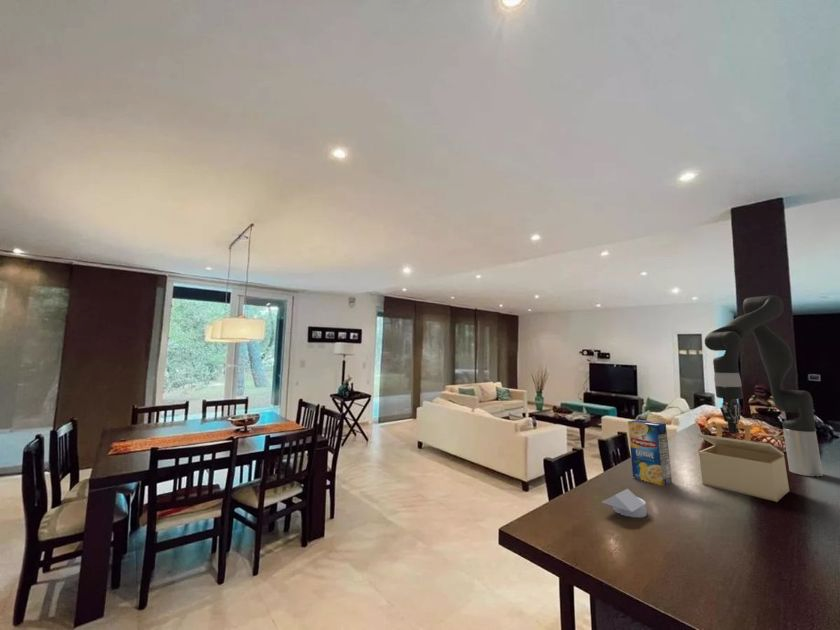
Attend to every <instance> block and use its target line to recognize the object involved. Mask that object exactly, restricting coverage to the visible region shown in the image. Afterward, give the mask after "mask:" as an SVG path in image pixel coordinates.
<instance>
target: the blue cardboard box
mask: <svg viewBox="0 0 840 630" xmlns="http://www.w3.org/2000/svg"><path fill="white" fill-rule="evenodd" d="M627 424H628V436H629V446H630V447H629V448H630V457H631V458H630V459H631V469H632V478H633V477H635V478H637V479H636V480H638V479H641V480H640V481H642V480H644V481H643V482H646V481H647V483H649V482H651V483H650V484H653V483H654V485H657V484H658V485H657V486H660V485H661V487H664V485H665V486H667V485H670V484H672V483H673V480H672V479H673V478H672V468H671V459H670V451H669V442H668V431H667V423H665V422H657V421H651V420H650V421H649V420H642V419H634V420H628V421H627ZM635 478H634V479H635Z"/></svg>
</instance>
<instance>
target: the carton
mask: <svg viewBox="0 0 840 630" xmlns="http://www.w3.org/2000/svg"><path fill="white" fill-rule="evenodd" d="M698 455H699V457H698V458H699V464H700V465H699V466H700V472H701V480H702V481H701V482H702V485H703V486H708V487H713V488H716V489H719V490H720V489H721V490H725V491H728V492H734V493H739V494H742V495H747V496H751V497H755V498H759V499H764V500H767V501H772V502H776V503H778V502H779V501H780V500H781V499H782V498H783V497H784V496H785V495H787V494H788V493H789V492H790V487H789V486H790V485H789V480H788V473H787V466H786V465H787V464H786V459H785V455H784V456H782V455H775V454H769V453H762V452H756V451H749V450H743V449H736V448H729V447H723V446H716V445H712V446H709V447H707V448H704V449H702V450H699V451H698Z"/></svg>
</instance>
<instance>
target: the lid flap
mask: <svg viewBox="0 0 840 630" xmlns="http://www.w3.org/2000/svg"><path fill="white" fill-rule="evenodd" d="M714 423H715V426H716V435H708V434H701V433H697V434H698V435H697V437H699V438H701V439H702V440H704V441H706V442H708V443H710V444H711V445H712V446H714V445H715V446H721V447H728V448H734V449H741V450H747V451H754V452H760V453H767V454H773V455H780V456H784V457H785V453H784V452H782V451H781V450H780V449H779V448H777V447H776V446H774V445H772V444H771V443H766V442H759V441H753V440H751V437H752V436H751V435H752V434H751V431H752V430H753V426H752V425H748V424H739V423H738V424H736V427H737V428H739V429H743V430H744V439H737V438H731V437H725V436H724V437H723V427H724V428H725V427H726V428H728V423H727V422H721V421H715V422H714Z"/></svg>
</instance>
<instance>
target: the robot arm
mask: <svg viewBox="0 0 840 630" xmlns="http://www.w3.org/2000/svg"><path fill="white" fill-rule="evenodd" d="M784 307H785V306H784V302H783V300H782V298H780V297H779V296H776V295H763V296H753V297H752V296H751V297H746V298H745V299H744V301H743V303H742V308H743V309H742V310H743V313H744V314H742V315H740V316H737V317H736V318H734V319H732V320H731V321H728V323H727V324H725V326H721V327H719V328H717V329H714V330H713V331H710V332H709V333H707V334H706V336H705V338H704V345H705V347H706V348H707V349H709V350H711V351H715V352H719V351H720V352H721V351H722V352H724V351H725V352H724V354H723V355H722V356H717V357H714V358H713V361H712V365H713V372H714V376H713V377H714V379H713V381H714V388H715V396H716V398H718V399H722V403H721V407H720V411H721V414H722V418H723V421H724V422H725V423H728V427H727V429H728V433H729V434H731V435H737V434H739V433H740V431H739V429H740V428H737V427H736V424H739V422H740V420H741V411H742V410H741V409H742V406H741V405H740V404H739V403H738V400H742V399H743V398H744V395H743V394H744V393H743V387H742V379H741V374H740V369H739V363H738V362H739V358H740V352H741V348H742V343H743V342H742V340H743V339H744V338H745V337H747V336H748V335H749V334H750V333H751V332H752V333H753V336H754V339H755V342H756V346H757V348H758V352H759V355H760V359H761V361H762V364H763V367H764V368H765V372H766V374H767V375H766V376H767V379H768V382H769V386H770V391H771V395H772V400H773V403H774V405H775V408H776V409H777V410H778V411H780V412H785V413H795V414H799V417H796V418H795V419H794V418H793V419H788V420H784V421H782V430H783V436H784V444H785V451H786V457H787V463H788V470H789V472H791V473H792V474H798V475H801V476H807V477H814V476H817V477H819V476H821V477H823V476H824V475H823V474H824V473H823V468H822V462H821V456H820V455H821V454H820V449H819V443H818V442H819V441H818V435H817V430H816V422H815V421H816V420H815V410H814V402H813V397H812V395H811V393H810V392H809V391H808V390H796V389H785V388H784V384H783V383H784V380H785V378H786V375H787V374H788V372H789V371H790V370H791V368H792V367H793V365H794V357H793V353H792V351H791V348H790V345H789V344H788V343H787V342H786V341H785V340H784V339H783V338H782V337H780V336H779V335H777V333H775V332H774V331H772V329H770V328H769V326H767V324H766V323H768V322H770V321H772V320H774V319H776V318H779V317H780V316H781V315H782V314H783V313H784ZM817 477H816V478H817ZM819 478H820V477H819Z"/></svg>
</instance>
